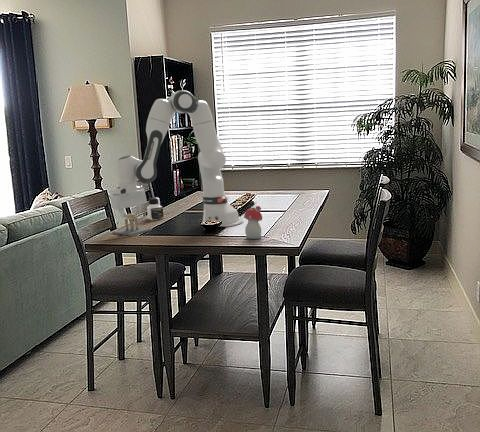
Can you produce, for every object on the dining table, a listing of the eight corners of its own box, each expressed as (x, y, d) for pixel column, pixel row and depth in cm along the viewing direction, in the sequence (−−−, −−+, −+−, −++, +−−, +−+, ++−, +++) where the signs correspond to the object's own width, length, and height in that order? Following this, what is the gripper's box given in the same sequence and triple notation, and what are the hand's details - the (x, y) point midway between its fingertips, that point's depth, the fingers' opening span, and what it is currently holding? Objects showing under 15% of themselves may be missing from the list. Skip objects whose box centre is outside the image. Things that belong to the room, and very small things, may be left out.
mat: (151, 230, 283) (151, 228, 283) (130, 236, 272) (130, 234, 272) (133, 228, 292) (133, 226, 292) (112, 233, 281) (112, 231, 281)
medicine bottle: (151, 220, 309) (149, 199, 307) (147, 218, 316) (145, 198, 313) (163, 218, 313) (162, 197, 310) (159, 217, 319) (157, 196, 317)
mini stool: (132, 228, 286) (131, 213, 284) (139, 229, 282) (138, 214, 281) (124, 230, 281) (122, 215, 280) (131, 231, 278) (130, 216, 276)
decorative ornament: (266, 238, 251) (264, 205, 248) (254, 240, 247) (252, 207, 244) (253, 235, 258) (251, 203, 256) (242, 237, 255) (240, 205, 252)
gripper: (139, 185, 288) (142, 211, 290) (108, 191, 272) (111, 218, 275) (147, 185, 284) (150, 212, 286) (116, 191, 268) (119, 219, 271)
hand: (130, 215), depth 280 cm, fingers open, 8 cm apart
